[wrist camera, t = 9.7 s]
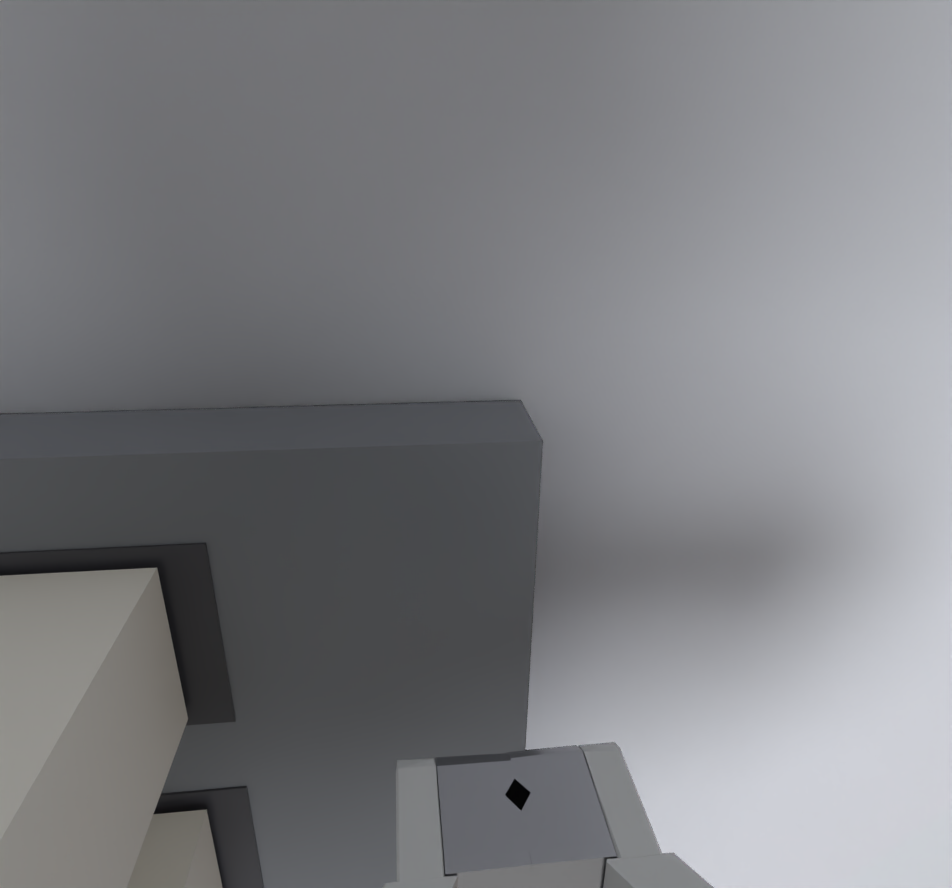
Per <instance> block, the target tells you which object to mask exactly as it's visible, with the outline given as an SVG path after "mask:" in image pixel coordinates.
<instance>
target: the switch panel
mask: <svg viewBox="0 0 952 888" xmlns="http://www.w3.org/2000/svg"><path fill="white" fill-rule="evenodd" d="M542 444H543V440H542V439H541V437H540V435H539V433H538V431H537V429H536V428H535V426H534V424H533V422H532V420H531V418H530V416H529V415H528V413H527V411H526V409H525V407H524V405H523V404H522V402H521V400H518V401H480V402H442V403H404V404H367V405H329V406H291V407H253V408H216V409H178V410H140V411H102V412H65V413H27V414H0V576H4V575H23V574H43V573H62V572H81V571H100V570H120V569H139V568H157V569H158V574H159V579H160V584H161V589H162V594H163V599H164V604H165V608H166V613H167V618H168V623H169V628H170V633H171V638H172V643H173V648H174V652H175V657H176V662H177V667H178V672H179V677H180V682H181V687H182V692H183V696H184V701H185V706H186V711H187V716H188V721H187V723H186V726H185V729H184V732H183V734H182V737H181V740H180V743H179V745H178V748H177V751H176V754H175V756H174V759H173V762H172V765H171V767H170V770H169V773H168V776H167V778H166V781H165V784H164V787H163V789H162V792H161V795H160V798H159V800H158V803H157V806H156V809H155V811H154V814H163V813H174V812H184V811H195V810H206V809H207V814H208V819H209V823H210V828H211V833H212V838H213V843H214V848H215V853H216V858H217V863H218V867H219V872H220V877H221V882H222V887H223V888H382V887H383V885H384V884H385V883H390V882H397V846H396V767H397V760H410V759H425V758H434V759H436V757H450V756H467V755H484V754H501V753H507V752H512V751H523V750H525V744H526V727H527V709H528V691H529V674H530V656H531V638H532V621H533V603H534V586H535V568H536V550H537V533H538V515H539V497H540V480H541V462H542Z"/></svg>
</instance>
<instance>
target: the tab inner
mask: <svg viewBox="0 0 952 888" xmlns="http://www.w3.org/2000/svg"><path fill="white" fill-rule="evenodd" d="M187 721H188V716H187V711H186V706H185V701H184V696H183V692H182V687H181V682H180V677H179V672H178V667H177V662H176V657H175V652H174V648H173V643H172V638H171V633H170V628H169V623H168V618H167V613H166V608H165V604H164V599H163V594H162V589H161V584H160V579H159V574H158V569H157V568H139V569H120V570H100V571H81V572H62V573H43V574H23V575H4V576H0V888H127V886H128V883H129V880H130V877H131V875H132V872H133V869H134V866H135V864H136V861H137V858H138V855H139V853H140V850H141V847H142V844H143V842H144V839H145V836H146V833H147V831H148V828H149V825H150V822H151V820H152V817H153V814H154V811H155V809H156V806H157V803H158V800H159V798H160V795H161V792H162V789H163V787H164V784H165V781H166V778H167V776H168V773H169V770H170V767H171V765H172V762H173V759H174V756H175V754H176V751H177V748H178V745H179V743H180V740H181V737H182V734H183V732H184V729H185V726H186V723H187Z"/></svg>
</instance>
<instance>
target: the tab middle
mask: <svg viewBox="0 0 952 888" xmlns="http://www.w3.org/2000/svg"><path fill="white" fill-rule="evenodd" d="M127 888H223V887H222V882H221V877H220V872H219V867H218V863H217V858H216V853H215V848H214V843H213V838H212V833H211V828H210V823H209V819H208V814H207V809H206V810H195V811H184V812H174V813H163V814H153V817H152V820H151V822H150V825H149V828H148V831H147V833H146V836H145V839H144V842H143V844H142V847H141V850H140V853H139V855H138V858H137V861H136V864H135V866H134V869H133V872H132V875H131V877H130V880H129V883H128V886H127Z"/></svg>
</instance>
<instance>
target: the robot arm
mask: <svg viewBox="0 0 952 888" xmlns="http://www.w3.org/2000/svg"><path fill="white" fill-rule="evenodd" d="M396 846H397V882H390V883H385V884H384V885H383V887H382V888H714V887H713V886H711V885H710V884H709V883H708V882H707V881H706V880H704V879H703V878H702V877H701V876H700V875H699V874H698V873H696V872H695V871H694V870H693V869H692V868H691V867H690V866H688V865H687V864H686V863H685V862H684V861H683V860H681V859H680V858H679V857H678V856H677V855H676V854H675V853H662V852H661V849H660V847H659V844H658V842H657V839H656V837H655V834H654V832H653V829H652V827H651V824H650V822H649V819H648V817H647V814H646V812H645V809H644V807H643V804H642V802H641V799H640V797H639V794H638V792H637V789H636V787H635V784H634V782H633V779H632V777H631V774H630V772H629V769H628V767H627V764H626V762H625V759H624V757H623V754H622V752H621V749H620V748H619V746H618V745H617V744H616V743H615V742H611V743H600V744H589V745H579V746H576V745H573V746H563V747H553V748H543V749H533V750H523V751H512V752H507V753H501V754H484V755H467V756H450V757H436V759H434V758H425V759H410V760H397V767H396Z"/></svg>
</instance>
